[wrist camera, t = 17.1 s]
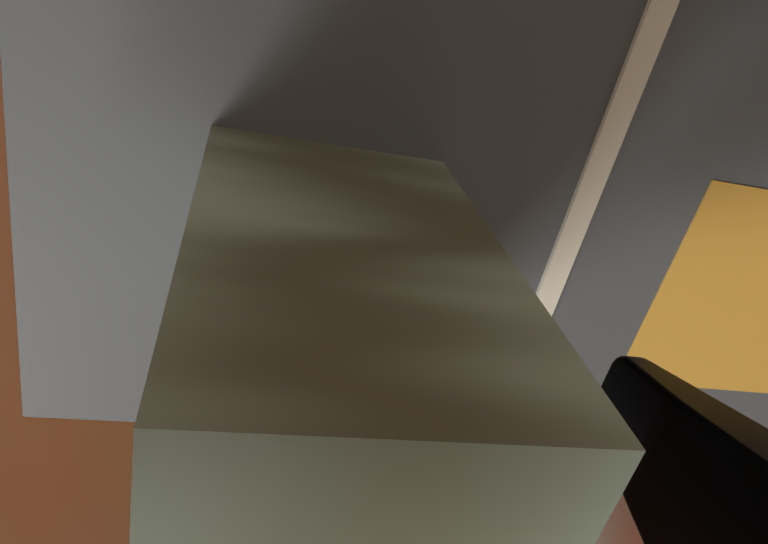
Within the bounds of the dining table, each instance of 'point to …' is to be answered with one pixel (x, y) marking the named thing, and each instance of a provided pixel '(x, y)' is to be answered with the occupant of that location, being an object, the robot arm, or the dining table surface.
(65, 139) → the board
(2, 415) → the dining table surface
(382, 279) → the peg
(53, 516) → the dining table surface
